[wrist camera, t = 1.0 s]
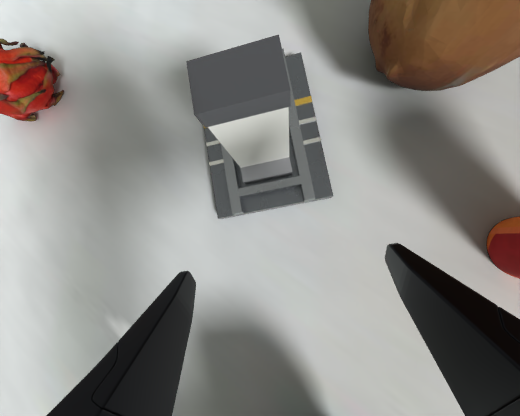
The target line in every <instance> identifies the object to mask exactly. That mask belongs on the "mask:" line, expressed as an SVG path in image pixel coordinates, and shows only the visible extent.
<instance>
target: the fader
mask: <svg viewBox="0 0 520 416" xmlns="http://www.w3.org/2000/svg"><path fill="white" fill-rule="evenodd" d="M186 62H187V68H188V75H189V82H190V88H191V95H192V102H193V108H194V115H195V116H196V117H197V118H198V120H199V121H200V122H201V123H202V124H203V126H204V127H205V128H206V127H208V128H209V129H210V131H211V132H212V133H213V134H214V136H215V137H216V138H217V139H218V140H219V142H220V143H221V144H222V145H223V147H224V148H225V149H226V150H227V152H228V153H229V154H230V155H231V157H232V158H233V159H234V160H235V162H236V163H237V164H238V165H239V166H240V168H241V173H242V179H243V182H244V183H245V184H248V183H253V182H258V181H262V180H267V179H272V178H277V177H281V176H286V175H291V174H292V167H291V163H290V158H289V107H291V90H290V85H289V80H288V76H287V71H286V66H285V62H284V57H283V52H282V48H281V43H280V38H279V35H276V36H272V37H269V38H265V39H262V40H259V41H255V42H252V43H248V44H245V45H241V46H238V47H234V48H231V49H228V50H224V51H221V52H217V53H214V54H210V55H207V56H204V57H200V58H197V59H193V60H190V61H186Z"/></svg>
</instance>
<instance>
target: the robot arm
mask: <svg viewBox="0 0 520 416" xmlns="http://www.w3.org/2000/svg"><path fill="white" fill-rule="evenodd" d="M385 261H386V264H387V266H388V269H389V271H390V273H391V276H392V278H393V281H394V283H395V286H396V288H397V291H398V293H399V295H400V297H401V299H402V301H403V303H404V305H405V307H406V308H407V310H408V312H409V314H410V316H411V317H412V319H413V321H414V323H415V325H416V327H417V328H418V330H419V332H420V334H421V336H422V338H423V339H424V341H425V343H426V345H427V347H428V349H429V350H430V352H431V354H432V356H433V358H434V360H435V361H436V363H437V365H438V367H439V369H440V371H441V372H442V374H443V376H444V378H445V380H446V382H447V383H448V385H449V387H450V389H451V391H452V392H453V394H454V396H455V398H456V400H457V402H458V403H459V405H460V407H461V409H462V411H463V413H464V414H465V416H520V319H518V318H517V317H515V316H513V315H512V314H510V313H509V312H507V311H505V310H504V309H502V308H501V307H498V306H497V305H496V304H494V303H493V302H491V301H489V300H488V299H486V298H485V297H483V296H482V295H480V294H478V293H477V292H475V291H474V290H472V289H471V288H469V287H467V286H466V285H464V284H463V283H461V282H459V281H458V280H456V279H455V278H453V277H452V276H450V275H448V274H447V273H445V272H444V271H442V270H440V269H439V268H437V267H436V266H434V265H433V264H431V263H429V262H428V261H426V260H425V259H423V258H422V257H420V256H418V255H417V254H415V253H414V252H412V251H410V250H409V249H407V248H406V247H404V246H403V245H401V244H399V243H394V244H389V245H388V246H387V250H386V255H385ZM195 290H196V282H195V280H194V278H193V277H192V275H191V273H190V272H189V271H183V272H180V273H179V274H178V275H177V276H176V277H175V278H174V279H173V280H172V281H171V283H170V284H169V285H168V286H167V287H166V288H165V289H164V290H163V292H162V293H161V294H160V295H159V296H158V297H157V298H156V299H155V301H154V302H153V303H152V304H151V305H150V306H149V307H148V308H147V310H146V311H145V312H144V313H143V314H142V315H141V316H140V317H139V319H138V320H137V321H136V322H135V323H134V324H133V325H132V326H131V328H130V329H129V330H128V331H127V332H126V333H125V334H124V335H123V337H122V338H121V339H120V340H119V342H117V343H116V344H115V345H114V347H113V348H112V349H111V350H110V351H109V352H108V353H107V354H106V355H105V357H104V358H103V359H102V360H101V361H100V362H99V363H98V364H97V365H96V366H95V367H94V368H93V369H92V370H91V371H90V372H89V373H88V374H87V375H86V377H85V378H84V379H83V380H82V381H81V382H80V383H79V384H78V385H77V386H76V387H75V388H74V389H73V390H72V391H71V392H70V393H69V394H68V395H67V396H66V397H65V398H64V399H63V400H62V401H61V402H60V403H59V404H58V405H57V406H56V407H55V408H54V409H53V410H52V411H51V412H50V413H49V414H47V415H46V416H172V413H173V408H174V403H175V399H176V394H177V389H178V384H179V380H180V375H181V370H182V365H183V361H184V356H185V351H186V346H187V342H188V337H189V332H190V327H191V323H192V317H193V309H194V299H195Z"/></svg>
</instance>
